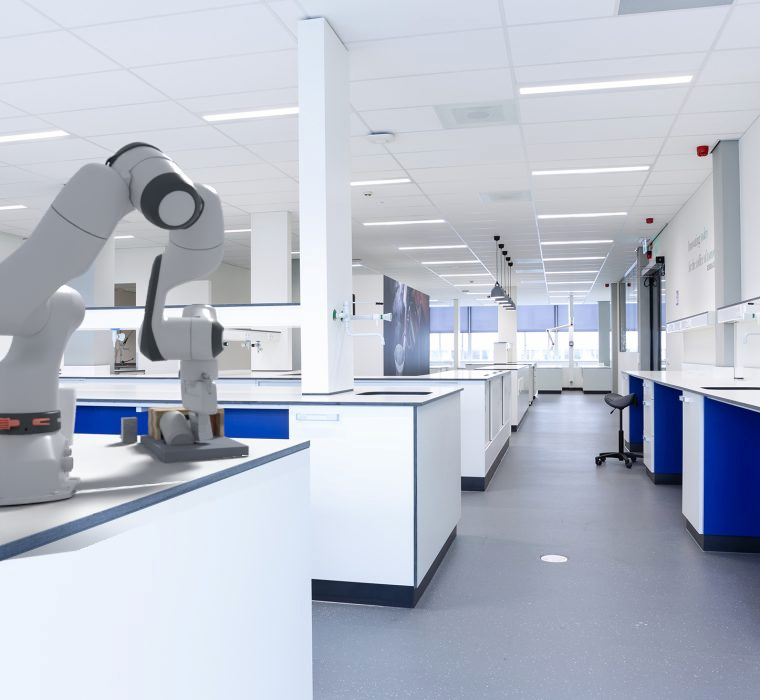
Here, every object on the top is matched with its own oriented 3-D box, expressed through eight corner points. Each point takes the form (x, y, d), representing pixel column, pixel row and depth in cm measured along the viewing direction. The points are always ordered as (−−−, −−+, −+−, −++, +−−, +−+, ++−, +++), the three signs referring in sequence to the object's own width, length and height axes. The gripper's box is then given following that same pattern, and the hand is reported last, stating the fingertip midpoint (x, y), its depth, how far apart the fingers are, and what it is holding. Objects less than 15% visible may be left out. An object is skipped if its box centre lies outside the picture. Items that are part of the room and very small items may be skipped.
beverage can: (184, 425, 164) (174, 403, 174) (161, 442, 163) (153, 419, 173) (200, 443, 167) (189, 420, 177) (178, 459, 166) (168, 436, 176)
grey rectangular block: (229, 433, 170) (225, 405, 170) (199, 441, 165) (194, 412, 164) (191, 430, 186) (187, 404, 185) (163, 437, 180) (158, 410, 180)
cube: (196, 435, 183) (196, 416, 183) (189, 433, 187) (189, 414, 187) (214, 433, 186) (214, 415, 186) (206, 432, 190) (206, 413, 190)
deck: (248, 456, 162) (248, 446, 162) (164, 462, 154) (164, 451, 154) (212, 440, 192) (212, 431, 192) (140, 444, 183) (140, 435, 183)
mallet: (137, 444, 183) (137, 418, 183) (123, 445, 182) (123, 418, 182) (129, 439, 195) (129, 413, 195) (116, 439, 194) (116, 414, 194)
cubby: (224, 436, 182) (224, 408, 182) (156, 439, 174) (156, 411, 174) (212, 431, 192) (212, 405, 192) (148, 434, 184) (148, 407, 184)
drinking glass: (81, 445, 182) (81, 387, 182) (67, 448, 175) (67, 389, 175) (56, 444, 183) (56, 387, 183) (41, 448, 176) (41, 389, 176)
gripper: (224, 374, 159) (224, 434, 159) (202, 371, 177) (201, 425, 177) (196, 374, 156) (196, 436, 156) (176, 371, 174) (176, 427, 174)
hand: (199, 430), depth 167 cm, fingers closed on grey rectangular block, 4 cm apart
